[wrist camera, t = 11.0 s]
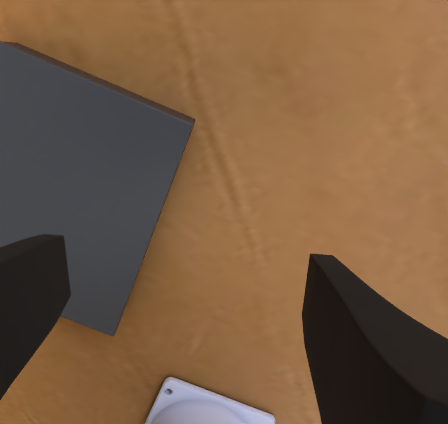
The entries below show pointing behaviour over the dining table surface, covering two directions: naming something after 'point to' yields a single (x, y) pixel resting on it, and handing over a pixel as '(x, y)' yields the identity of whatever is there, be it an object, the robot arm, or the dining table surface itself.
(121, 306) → the dark grey rectangular slab
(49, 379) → the dining table surface
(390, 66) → the dining table surface
